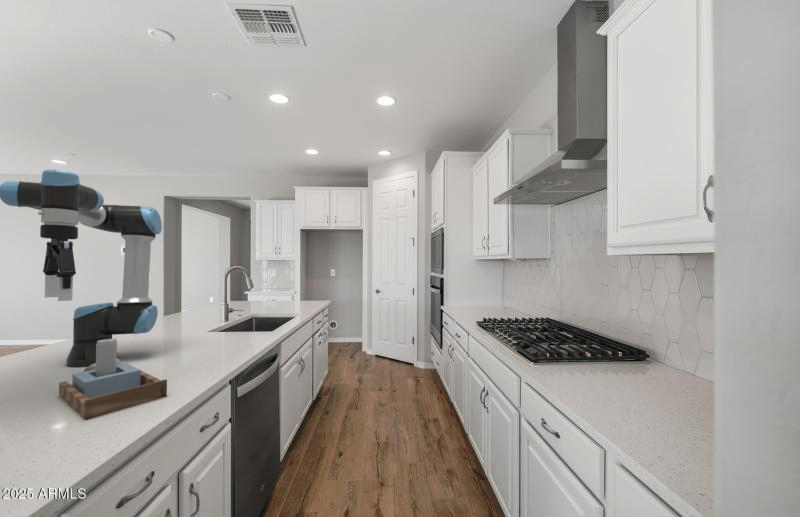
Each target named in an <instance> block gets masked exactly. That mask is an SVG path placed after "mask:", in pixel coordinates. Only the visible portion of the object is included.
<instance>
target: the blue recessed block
mask: <svg viewBox="0 0 800 517" xmlns="http://www.w3.org/2000/svg"><path fill="white" fill-rule="evenodd" d="M141 371H142V370H141V369H139V368H137V367H135V366H133V365H131V364H129V363H127V362H126V363H122V364H120V365H116V373H115V374H110V375H106V376H101V377H96V369H95V370H90V371H85V372H83V371H81V372H80V371H79V372H76V373H75V372H74V373H72V376H71V377H72V379H71V381H72V383H71V385H72V386H73V387H74V388H76V389H77V390H78V391H79V392H81V393H82V394H83V395H84V396H86V397H87V398H88V399H90V398H94V397H98V396H102V395H106V394H110V393H114V392H117V391H121V390H125V389H129V388H133V387H137V386H140V374H141Z"/></svg>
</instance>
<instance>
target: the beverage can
mask: <svg viewBox="0 0 800 517" xmlns="http://www.w3.org/2000/svg"><path fill="white" fill-rule="evenodd" d="M117 359H118V340H117V338H112V339H104V340H99V341H97V344H96V377H101V376H106V375H110V374H115V373H116V360H117Z"/></svg>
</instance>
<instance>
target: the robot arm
mask: <svg viewBox="0 0 800 517" xmlns="http://www.w3.org/2000/svg"><path fill="white" fill-rule="evenodd" d="M104 199H105V198H104V197H103V194H102V193H100V192H99V191H98V190H97V189H96V190H95V188H93V187H90V186H86V185H83V184H81V181H80V177H79V175H78V174H77V173H75V172H72V171H68V170H61V169H45V170H43V171H42V173H41V181H40V182H35V181H34V182H33V181H21V180H12V181H11V180H9V181H4V182H2V183H1V184H0V200H1V201H2V202H3V203H4V204H5V205H6V206H10V207H18V208H32V209H34V210H37V211H38V210H39V211H38V212H37V215H38V216H40V223H42V224H41V225H39V226H40V230H39V232H40V233H39V236H40V238H41V239H50V241H47V242H46V251H45V258H44V264H43V270H42V272H43V274H44V298H46V299H47V298H57V302H67V301H73V292H74V291H73V289H74V286H73V284H74V283H73V282H74V276H75V275H76V274H77V271H76V265H75V264H76V262H75V257H74V249H73V248H74V243H73V241H71V240H77V239H78V238H79V228H78V226H77V225H79V223H80V224H81V225H82V226H85V227H89V228H92V229H95V230H100V231H104V232H110V233H115V234H117V233H118V234H119V233H120V238H122V239H123V240H124V241H125V242H124V244H125V245H124V258H123V274H122V275H123V278H122V296H121V298H120V299H119V300H117V302H116V305H115V306H114V303H113V302H104V303H96V304H90V305H89V304H88V305H83V306H79V307H77V308H75V309H74V312H73V318H72V319H73V326H72V327H73V330H72V332H73V339H72V342H73V343H72V347H71V349H70V351H69V353H68V355H67V358H66V361H65V362H66V364H65V365H66V366H67V367H70V366H72V367H71V368H74V367H77V368H79V367H80V366H83V367H88V366H90V365H92V364H95V363H96V344H97V341H99V340H104V339H113V335H114V336H115V335H116V336H117V335H139V334H146V333H149V332H150V331H151V330H152V329H153V328H154V326H155V324H156V322H157V319H158V313H159V312H158V311H159V310H158V306H156V305H154V304H153V300H152V299H150V298H149V288H150V267H151V247H152V246H151V245H152V242H153V241H154V240H156V235H160V234H161V233H162V229H163V224H162V218H161V216H160V213H159V212H158V210H157V209H155V208H154V207H149V206H144V205H141V206H140V205H119V204H104V203H105V202H104ZM69 240H70V241H69Z"/></svg>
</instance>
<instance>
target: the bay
mask: <svg viewBox="0 0 800 517" xmlns="http://www.w3.org/2000/svg"><path fill="white" fill-rule="evenodd" d="M58 383H59V384H58V396H59V397H60V398H61V399H62V400H63V401H64V402H65V403H66V404H68V406H69V407H70V408H72V409H73V411H75V412H76V413H77V414H78V415H79V416H80V417H81V418H83V419H84V420H85V421H87V420H90V419H93V418H97V417H100V416H103V415H107V414H110V413H114V412H118V411H121V410H124V409H128V408H131V407H134V406H138V405H142V404H145V403H149V402H151V401H154V400H159V399H162V398H166V397H167V394H168V379H162V380H161V379H159V378H157V377H156V376H152V374H149V373H147V372H145V371H142V370H141V374H140V386H137V387H133V388H129V389H125V390H121V391H117V392H114V393H110V394H106V395H102V396H98V397H94V398H90V399H88V398H87V397H86V396H84V395H83V394H82V393H81V392H79V391H78V390H77V389H76V388H74V387H73V386H72V383H70V382H68V381H67V380H66V381H61V382H58Z"/></svg>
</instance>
